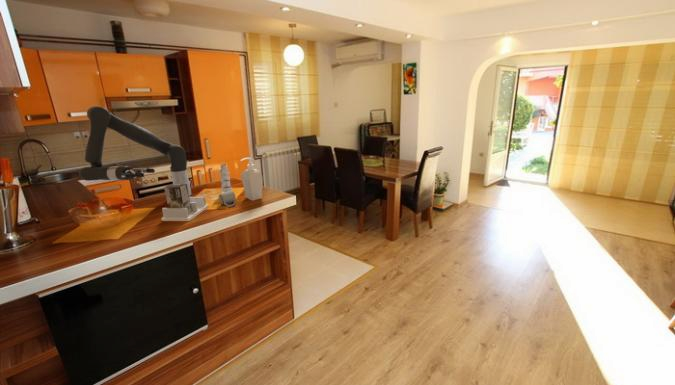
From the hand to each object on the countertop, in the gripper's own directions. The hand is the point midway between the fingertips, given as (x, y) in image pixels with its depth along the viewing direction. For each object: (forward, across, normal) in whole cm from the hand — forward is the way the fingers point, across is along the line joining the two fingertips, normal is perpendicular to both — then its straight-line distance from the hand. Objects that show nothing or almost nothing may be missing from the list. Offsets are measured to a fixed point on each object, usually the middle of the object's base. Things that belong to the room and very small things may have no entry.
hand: (149, 172), depth 163 cm
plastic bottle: (+24, +36, +25) cm, 50 cm away
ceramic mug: (+33, +17, +25) cm, 45 cm away
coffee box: (+15, -4, +23) cm, 27 cm away
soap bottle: (+43, +28, +25) cm, 58 cm away
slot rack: (+15, +1, +24) cm, 28 cm away
